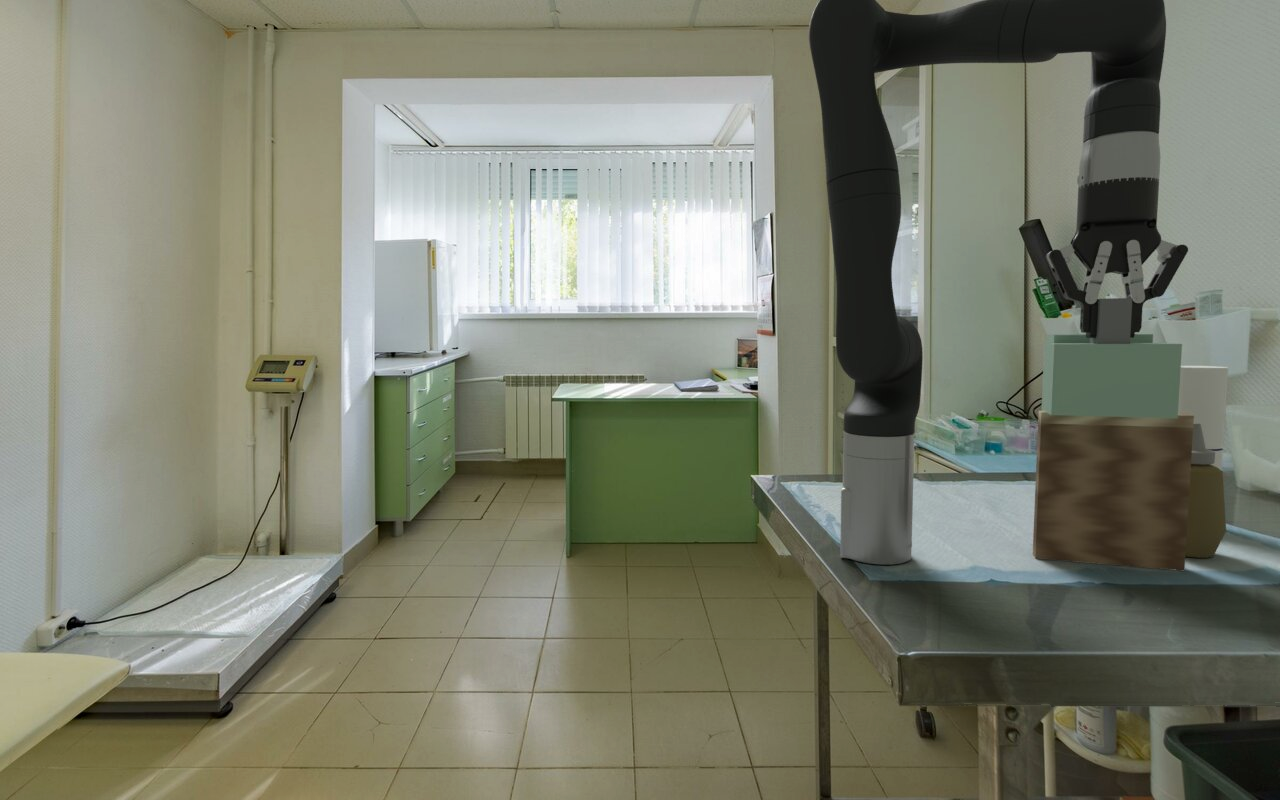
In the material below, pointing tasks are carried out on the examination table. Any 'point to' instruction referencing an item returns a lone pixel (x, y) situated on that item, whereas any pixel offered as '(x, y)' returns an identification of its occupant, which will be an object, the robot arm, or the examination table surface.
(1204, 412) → the cylindrical container
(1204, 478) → the squeeze bottle
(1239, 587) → the examination table surface
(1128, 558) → the wall board
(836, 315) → the robot arm
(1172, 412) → the green box
